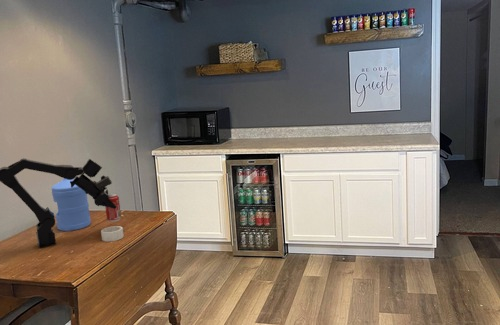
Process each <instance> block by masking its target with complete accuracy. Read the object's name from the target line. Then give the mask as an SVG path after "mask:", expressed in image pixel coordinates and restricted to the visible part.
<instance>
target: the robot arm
mask: <svg viewBox="0 0 500 325" xmlns="http://www.w3.org/2000/svg"><path fill="white" fill-rule="evenodd" d="M25 169H26V170H31V171H36V172H42V173H46V174H51V175H52V174H53V175H55V176H57V177H60V178H62V179H64V178H65V179H68V180H72V179H74V180H73V181H70V183H71V187H73V186H74V185H76V186H78V187H79V188H81V189H82V190H83V191H85V193H86V194H87V195H89V196H90V197H92V200H94V205H95V206H97V207H99V206H101V207H110V208H114V209H115V208H116V205H115V204H114V203H113V202H112V201H111V200H110V199H109V197H108V194H109V190H108V187H107V186H110V185H112V183H113V182H112V180H111V178H110V176H108V175H107V176H105V175H102V176H100V180H99V181H95V180H92V179H91V178H95V177H96V176H97V175H98V173H99V172H100V171H101V169H103V167H102V166H101V165H100V164H98V162H96V161H94V160H92V159H91V158H88V160H87V162H86V163H84V165H83V167H81V166H80V167H77V166H73V165H71V164H53V163H47V162H43V161H36V160H32V159H27V158H20V159H19V160H18V161H16V162H14V163H12V164H10V165H8V166H1V167H0V183H2V184H3V185H4V186H6V187H7V188H9V189H11V190H12V191H13V192H14V193H15V194H16V195H17V197H18V198H20V200H21V201H22V202H23V203H24V204H25V205H26V206H27V207H28V209H30V210H31V212H32V213H33V214H34V215H35V217H36V219H37V220H38V223H37V224H36V225H35V226H36V231H35V233H36V240H37V243H36V244H37V246H38V247H39V248H40V249H41V248H47V247H50V246H54V245H56V234H55V232H54V230H53V229H52V228H54V226H55V224H56V215H55V214H54V212H52V211H51V209H50V208H49V207H48V206H47V207H46V208H44V207H43V206H41V204H39V202H38V201H37V200H36V199H35V198H34V197H33V196H32V194H30V193H29V191H28V190H27V189H26V188H25V187H24V186H23V185H22V184H21V183H20V181H19V180H18V177H17V176H16V175H18V174H19V173H20V172H22V171H23V170H25Z"/></svg>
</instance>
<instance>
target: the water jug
mask: <svg viewBox="0 0 500 325" xmlns="http://www.w3.org/2000/svg"><path fill="white" fill-rule="evenodd" d="M74 179H75V178H74ZM74 179H72V180H68V179H65V178H62V179H61V181H59V182H56V184H54V185H53V186H52V187H51V195H52V200H53V202H54V203H56V205H57V213H56V214H55V221H56V229H58V230H59V231H64V232H71V231H78V230H81V229H84V228H87V227H89V226H90V225H91V223H92V221H91V220H92V219H91V215H90V208H89V207H90V205H89V200H88V194H86V193H85V191H83V190H82V189H81V188H79V187H78V186H76V185H74V186H73V187H71V183H70V181H73V180H74Z"/></svg>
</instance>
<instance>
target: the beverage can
mask: <svg viewBox="0 0 500 325" xmlns="http://www.w3.org/2000/svg"><path fill="white" fill-rule="evenodd" d="M108 197H109V199H110V200H111V201H112V202H113V203H114V204H115V205H116V208H115V209H114V208H110V207H105V206H104V207H105V214H106V220H107V221H108V222H109V223H116V222H118V221H120V220H121V218H122V213H121V203H120V197H119V196H118V194H117V193H110V194H109V193H108Z"/></svg>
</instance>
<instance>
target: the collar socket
mask: <svg viewBox="0 0 500 325" xmlns="http://www.w3.org/2000/svg"><path fill="white" fill-rule="evenodd" d="M100 234H101V235H100V236H101V241H103V242H106V243H107V242H108V243H109V242H116V241H119V240H121V239H123V238H124V228H123V227H122V226H119V225H112V226H108V227H105V228H102V229H101V230H100Z"/></svg>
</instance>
